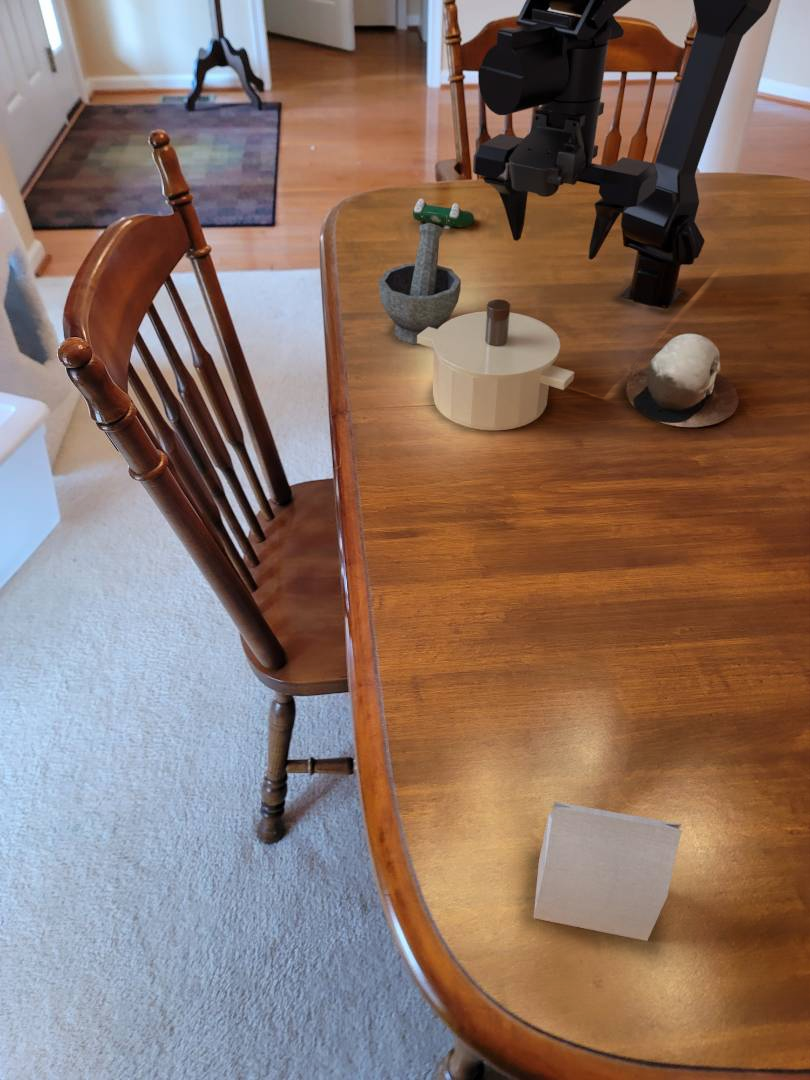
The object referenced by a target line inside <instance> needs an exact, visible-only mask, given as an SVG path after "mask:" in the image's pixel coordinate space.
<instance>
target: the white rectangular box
mask: <svg viewBox="0 0 810 1080" xmlns="http://www.w3.org/2000/svg"><path fill="white" fill-rule="evenodd" d="M681 826H682V823H677V822H673V821H672V822H671V821H665V820H660V819H654V818H649V817H643V816H637V815H633V814H626V813H621V812H615V811H609V810H603V809H599V808H593V807H587V806H581V805H576V804H571V803H565V802H560V801H554V803H553V806H552V808H551V810H550V812H549V813H548V815H547V821H546V826H545V830H544V834H543V840H542V844H541V849H540V855H539V859H538V866H537V878H536V886H535V887H536V888H535V899H534V900H535V901H534V909H533V919H535V920H541V921H546V922H551V923H555V924H560V925H565V926H571V927H575V928H581V929H585V930H590V931H595V932H600V933H605V934H610V935H615V936H620V937H624V938H629V939H635V940H642V941H645V942H648V940H649V938H650V936H651V933H652V932H653V929H654V926H655V924H656V923H657V920H658V918H659V916H660V913H661V912H662V909H663V907H664V905H665V903H666V900H667V898H668V895H669V891H670V886H671V880H672V877H673V870H674V867H675V861H676V857H677V852H678V847H679V844H680V839H681V836H682V832H683V829H680V828H681Z"/></svg>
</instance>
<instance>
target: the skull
mask: <svg viewBox="0 0 810 1080" xmlns="http://www.w3.org/2000/svg"><path fill="white" fill-rule="evenodd" d="M720 358H721V354H720V351H719V349H718V347H717V346H716V344H715V343H714V342H713V341H712V340H710V339H709V338H707V337H705V336H704V335H701V334H698V333H683V334H678V335H677V336H674V337H673V338H671V339H670V340H669V341H668V342H667V343H666V344H665V345H664V346H663V347H662V349H661V350H659V351H658V352H657V353H655V355H654V357H652V358H651V360H650V363H649V366H648V367H644V368H641V369H640V370H637V372H635V373H634V374H633V375H631V377H629V379H628V381H627V383H626V387H625V392H626V397H627V399H628V401H629V402H630V404H631V406H633V407H634V409H635V410H636V411H637V412H639V413H640V414H641V415H642V416H645V417H646V418H648V419H651V420H653V421H655V422H657V423H662V424H665V425H669V426H675V427H681V428H683V427H684V428H699V427H700V428H701V427H707V426H712V425H716V424H718V423H721V422H722V421H725V420H726V419H728V418H730V417H731V416H732V415H733V414H734V413H735V412H736V410H737V408H738V406H739V401H740V398H739V394H738V391H737V389H736V388H735V386H734V384H733V383H732V382H731V381H729V379H727V378H726V377H725V376H723V375H722V374H719V373H720V371H721V361H720Z"/></svg>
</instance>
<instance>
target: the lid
mask: <svg viewBox="0 0 810 1080" xmlns="http://www.w3.org/2000/svg"><path fill="white" fill-rule="evenodd" d="M432 350H433V353H434V352H435V354H436V356H437V357H438V358H439V359H440V360H441V361H442V362H443V363H444V364H446V365H447V366H449V367H451V368H453V369H455V370H457V371H459V372H462V373H465V374H468V375H472V376H477V377H483V378H494V379H507V378H517V377H523V376H527V375H531V374H534V373H537V372H539V371H542V370H544V369H545V368H547V367H549V366H550V365H551V364H552V365H553V364H554V363H555V361H556V360H557V359H558V357H559V355H560V352H561V340H560V338H559V336H558V334H557V333H556V332H555V330H553V329H552V327H550V326H549V325H547V324H546V323H544V322H543V321H541V320H538V319H536V318H534V317H532V316H529V315H524V314H521V313H516V312H511V303H510V302H509V301H508V300H505V299H492V300H489V301H488V302H487V304H486V311H476V312H469V313H465V314H461V315H458V316H456V317H453V318H451V319H448V321H447V322H445V323H444V324H442V325H441V326H440V327H439V328H438V329H437V330H436V332H435V334H434V336H433V348H432Z"/></svg>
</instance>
